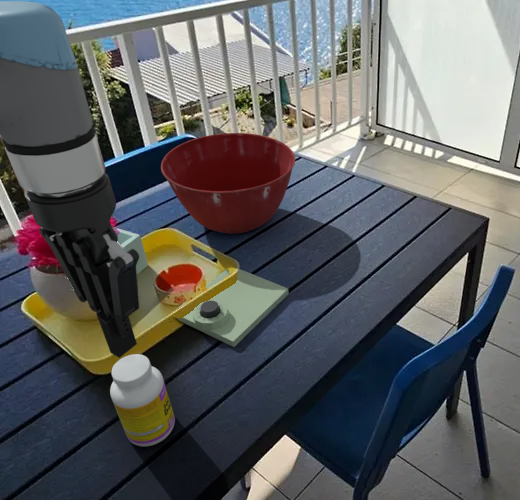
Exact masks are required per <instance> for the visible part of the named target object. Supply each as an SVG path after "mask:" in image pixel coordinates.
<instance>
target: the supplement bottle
mask: <svg viewBox="0 0 520 500" xmlns="http://www.w3.org/2000/svg"><path fill="white" fill-rule="evenodd" d="M111 377H112V383H111V385H110V388H109V394H110V397H111V398H110V399H111V401H112V403H113V405H114V407H115V410H116V413H117V415H118V418H119V421H120V423H121V425H122V428H123V430H124V433H125V436H126V438H127V440H128V441H129V442H130V443H131V444H133V445H135V446H138V447H150V446H151V447H152V446H154V445H157V444H159V443H161V442H163V441H164V440H165V439H166V438H167V437H169V435H170V434H171V432H172V431H173V429H174V426H175V422H176V418H175V414H174V410H173V407H172V404H171V403H172V402H171V400H170V397H169V394H168V390H167V388H166V383H165V380H164V377H163V374H162V373H161V371H160V370H159V369H158V368H156V367H155V366H152V364H151V361H150V359H149V358H148V357H147V356H146V355H143V354H141V353H133V354H129V355H126V356H122V357H121V358H119V359H118V361H116V362H115V364H113V366H112V369H111Z"/></svg>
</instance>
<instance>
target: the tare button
mask: <svg viewBox="0 0 520 500" xmlns="http://www.w3.org/2000/svg"><path fill="white" fill-rule="evenodd" d="M201 313H202V316H203V317H204V318H213V317H216V316H217V315H218V314H219V306H218V303H217V302H216V301H206V302H204V303H203V304H202V305H201Z"/></svg>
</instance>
